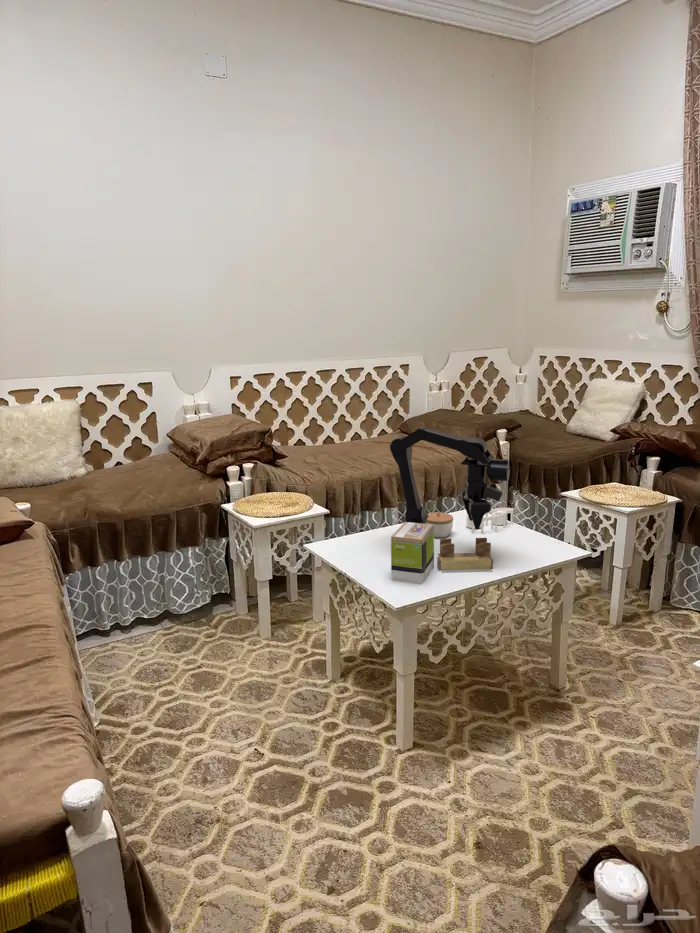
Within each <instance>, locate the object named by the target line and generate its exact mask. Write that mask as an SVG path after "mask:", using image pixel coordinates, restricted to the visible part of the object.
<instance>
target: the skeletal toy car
mask: <svg viewBox="0 0 700 933" xmlns="http://www.w3.org/2000/svg"><path fill="white" fill-rule="evenodd" d="M489 514H490V516H489ZM508 514H510V523H512V524H511V525H513V524H514V523H513V520H514V508H512V507H497V508H494V509H493V508H492V509H491V511H489V512H488V513H486V514H485V516H483V519H482V522H481V525H480V528H479V529H480V533H476V535H487V534H489V533H487V532H486V533H484V526H485V527H488V523H489V522H488V521H490V531H492V530H494V533H497V532H498V525H499V526H502V525H503V526H502V527H503V529H506V526H507V525H506V524H507V522H508ZM484 523H485V524H484ZM466 527H467V528H469V529H471V534H472V535H475V526H474V523H473V521H470V519H469V517H468V514H466Z"/></svg>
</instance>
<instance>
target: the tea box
mask: <svg viewBox="0 0 700 933" xmlns="http://www.w3.org/2000/svg"><path fill="white" fill-rule="evenodd" d="M390 538H391V539H390V556H391V557H390V559H391V561H390V564H391V565H390V566H391V571H390V573H391V574H390V576H391V580H392V581H396V582H397V581H398V582H403V583H411V584H418V585H423V583H424V582H425V580H426V579H427V577H428V576H429V574H430V573H431V572H432V571H433V568H435V538H434V525H433V524H421V523H410V522H406V521H404V522H403V523H402V525H401V526H400V527H398V529H397V530H396V531H395V532H394V533H393V534H392V535H391V537H390Z"/></svg>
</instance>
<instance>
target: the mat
mask: <svg viewBox="0 0 700 933" xmlns="http://www.w3.org/2000/svg"><path fill="white" fill-rule="evenodd" d="M440 572H441V574H446V573H447V574H449V573H450V574H451V573H452V574H453V573H482V572H483V573H486V572H488V573H489V572H491V573H492V572H493V569H461V570H441V571H440Z"/></svg>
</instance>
